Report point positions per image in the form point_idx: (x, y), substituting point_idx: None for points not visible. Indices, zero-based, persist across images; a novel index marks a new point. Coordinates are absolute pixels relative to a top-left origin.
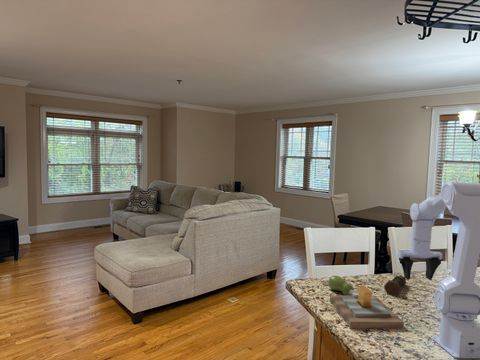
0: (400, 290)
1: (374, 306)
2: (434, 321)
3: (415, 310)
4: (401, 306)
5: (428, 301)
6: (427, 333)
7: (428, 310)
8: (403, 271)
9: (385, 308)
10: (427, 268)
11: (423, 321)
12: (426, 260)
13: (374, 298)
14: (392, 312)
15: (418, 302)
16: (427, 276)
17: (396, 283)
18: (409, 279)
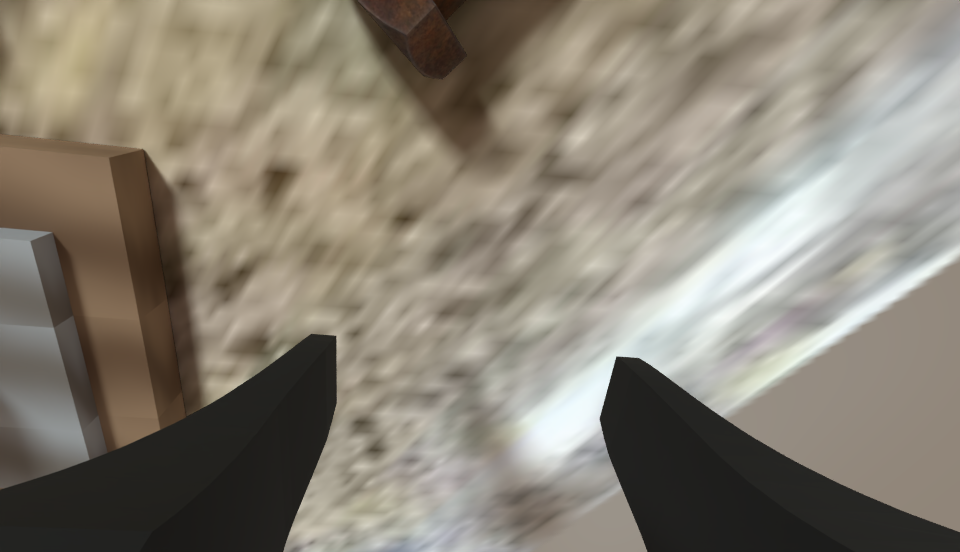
0: (439, 78)
1: (3, 405)
2: (435, 438)
3: (411, 316)
4: (341, 253)
5: (633, 189)
6: (307, 526)
7: (507, 322)
8: (262, 372)
9: (121, 380)
10: (679, 458)
11: (367, 435)
12: (780, 548)
13: (82, 215)
14: (152, 431)
15: (533, 199)
16: (620, 396)
17: (398, 38)
18: (332, 405)
